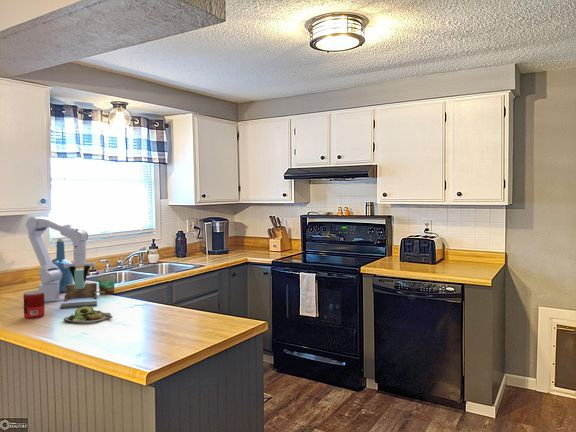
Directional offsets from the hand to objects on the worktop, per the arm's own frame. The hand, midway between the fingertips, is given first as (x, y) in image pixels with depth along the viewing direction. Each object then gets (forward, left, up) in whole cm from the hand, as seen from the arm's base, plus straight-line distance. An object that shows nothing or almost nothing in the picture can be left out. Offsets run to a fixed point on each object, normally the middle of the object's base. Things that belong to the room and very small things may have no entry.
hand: (80, 281), depth 233 cm
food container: (+14, +20, -11) cm, 26 cm away
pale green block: (0, 0, -3) cm, 3 cm away
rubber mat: (0, -10, -10) cm, 15 cm away
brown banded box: (0, +9, -10) cm, 14 cm away
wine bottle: (-12, +37, -11) cm, 40 cm away
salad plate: (+5, -40, -11) cm, 42 cm away
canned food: (-17, -27, -11) cm, 34 cm away
